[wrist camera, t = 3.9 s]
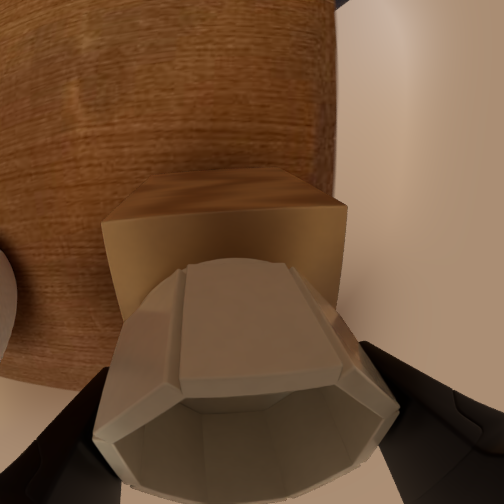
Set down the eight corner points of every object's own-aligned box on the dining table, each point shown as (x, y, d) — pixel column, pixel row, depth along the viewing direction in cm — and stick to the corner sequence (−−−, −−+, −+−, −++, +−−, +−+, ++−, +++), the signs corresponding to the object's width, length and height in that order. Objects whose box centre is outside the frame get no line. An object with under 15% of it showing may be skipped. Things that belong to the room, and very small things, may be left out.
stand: (278, 166, 18) (348, 205, 9) (276, 278, 22) (324, 378, 13) (151, 174, 17) (99, 222, 8) (166, 287, 21) (148, 396, 12)
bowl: (347, 253, 9) (438, 344, 5) (312, 400, 11) (346, 487, 7) (113, 256, 8) (51, 369, 4) (148, 410, 10) (142, 506, 6)
